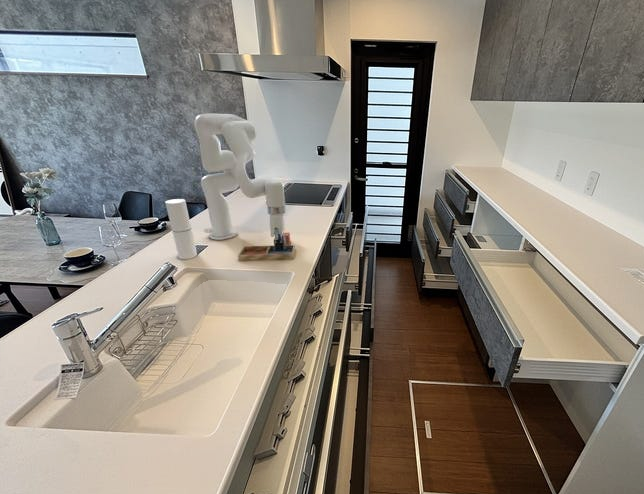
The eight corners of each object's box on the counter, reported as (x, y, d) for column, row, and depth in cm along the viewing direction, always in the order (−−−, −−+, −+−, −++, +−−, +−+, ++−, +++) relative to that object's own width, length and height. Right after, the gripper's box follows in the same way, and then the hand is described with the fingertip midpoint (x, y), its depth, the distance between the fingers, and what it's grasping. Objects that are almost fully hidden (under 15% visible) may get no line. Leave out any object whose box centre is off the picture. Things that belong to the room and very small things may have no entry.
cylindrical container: (178, 260, 131) (164, 204, 121) (179, 253, 137) (165, 199, 127) (197, 257, 134) (184, 202, 124) (197, 251, 140) (185, 198, 130)
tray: (238, 260, 132) (237, 255, 131) (244, 251, 141) (243, 246, 140) (293, 259, 135) (292, 253, 134) (295, 249, 144) (294, 244, 143)
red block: (279, 245, 148) (279, 236, 146) (281, 241, 152) (280, 232, 150) (289, 245, 149) (288, 235, 147) (290, 241, 153) (289, 232, 151)
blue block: (274, 250, 135) (273, 240, 133) (276, 246, 139) (275, 236, 137) (285, 250, 136) (284, 240, 134) (286, 246, 140) (285, 236, 138)
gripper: (270, 204, 137) (274, 241, 145) (263, 215, 122) (268, 256, 129) (287, 204, 138) (290, 240, 146) (282, 215, 123) (286, 255, 130)
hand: (280, 247), depth 137 cm, fingers closed on blue block, 4 cm apart
